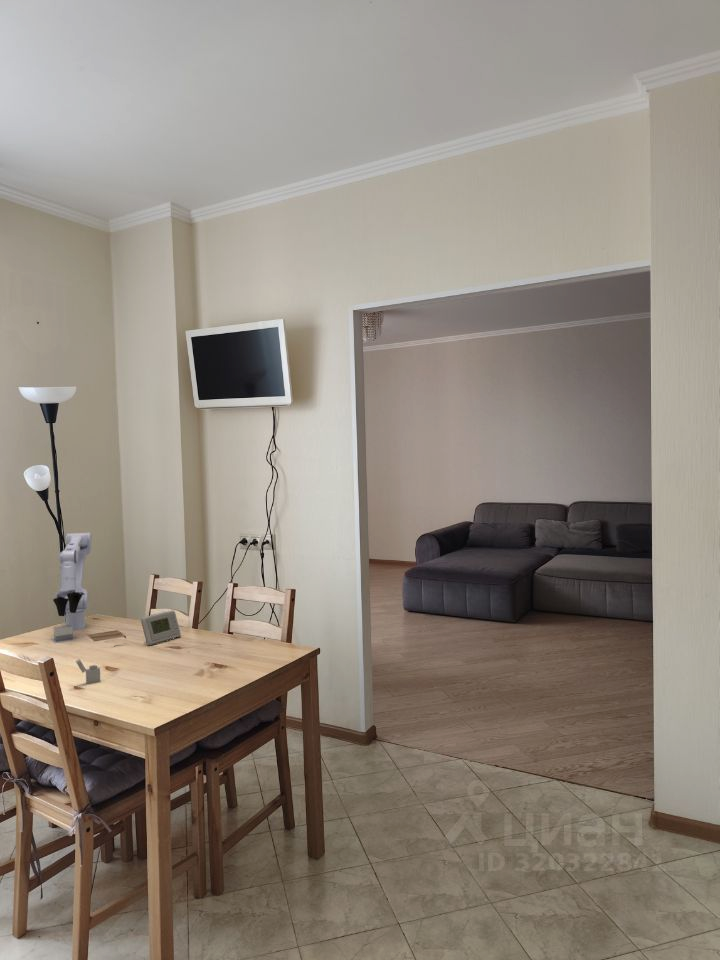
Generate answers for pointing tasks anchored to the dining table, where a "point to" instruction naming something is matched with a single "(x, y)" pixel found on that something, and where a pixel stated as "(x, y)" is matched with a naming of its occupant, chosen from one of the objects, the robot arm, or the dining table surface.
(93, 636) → the walnut stand
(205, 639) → the dining table surface
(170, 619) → the digital clock
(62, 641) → the grey stand
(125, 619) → the dining table surface
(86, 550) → the robot arm
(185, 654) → the dining table surface
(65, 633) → the housing
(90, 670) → the lighter
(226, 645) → the dining table surface
